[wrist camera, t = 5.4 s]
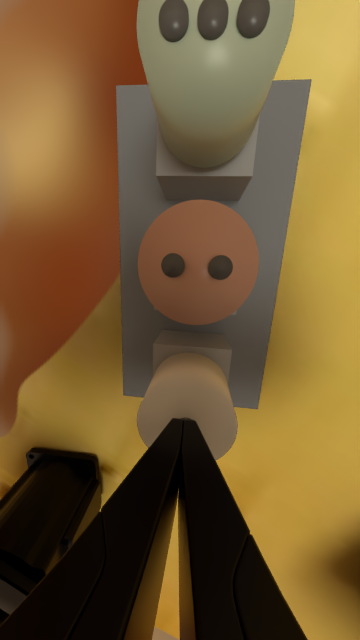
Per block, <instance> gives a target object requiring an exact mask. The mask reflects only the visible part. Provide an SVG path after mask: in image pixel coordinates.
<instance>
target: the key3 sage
mask: <svg viewBox="0 0 360 640" xmlns="http://www.w3.org/2000/svg"><path fill="white" fill-rule="evenodd" d="M294 6H295V0H139V4H138V11H137V38H138V45H139V51H140V55H141V59H142V62H143V66H144V70H145V74H146V78H147V81H148V86H149V89H150V93H151V97H152V101H153V105H154V109H155V112H156V116H157V120H158V124H159V128H160V131H161V135H162V137H163V140H164V142H165V143H166V145H167V147H168V148H169V150H170V151H171V152H172V153H173V154H174V155H175V156H176V157H177V158H178V159H179V160H181V161H182V162H184V163H186V164H188V165H191V166H194V167H200V168H208V167H214V166H218V165H220V164H223V163H225V162H227V161H228V160H230V159H231V158H233V157H234V156H235V155H236V154H238V153H239V152H240V151H241V149H242V148H243V147H244V146H245V145H246V143H247V142H248V140H249V139H250V137H251V135H252V133H253V131H254V129H255V126H256V124H257V121H258V118H259V116H260V113H261V110H262V108H263V105H264V103H265V100H266V97H267V95H268V92H269V89H270V87H271V84H272V82H273V79H274V76H275V74H276V71H277V68H278V66H279V63H280V61H281V58H282V55H283V53H284V50H285V47H286V45H287V42H288V38H289V35H290V32H291V27H292V22H293V17H294Z"/></svg>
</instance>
